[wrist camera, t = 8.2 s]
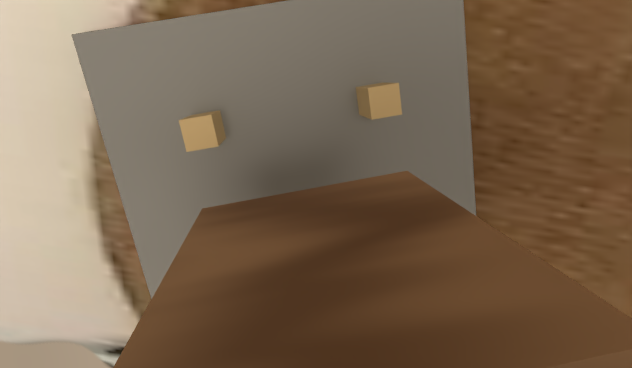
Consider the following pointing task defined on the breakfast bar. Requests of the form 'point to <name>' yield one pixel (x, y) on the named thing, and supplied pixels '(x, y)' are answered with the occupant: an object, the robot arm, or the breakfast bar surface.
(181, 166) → the base board
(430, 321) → the walnut block
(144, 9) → the breakfast bar surface
